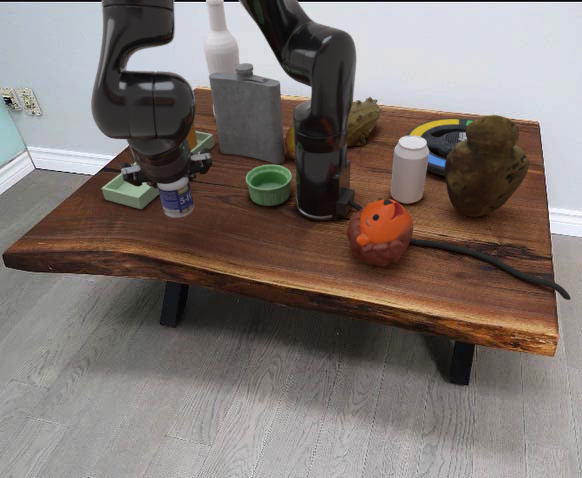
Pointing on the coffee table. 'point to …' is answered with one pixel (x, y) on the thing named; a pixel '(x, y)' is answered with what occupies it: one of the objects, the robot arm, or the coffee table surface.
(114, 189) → the tray
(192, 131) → the amber bottle
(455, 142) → the electronic game
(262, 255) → the coffee table surface
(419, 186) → the beverage can
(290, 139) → the fruit
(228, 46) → the bottle
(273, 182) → the ramekin
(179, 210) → the pill bottle
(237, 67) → the hip flask
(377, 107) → the seashell
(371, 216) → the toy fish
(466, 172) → the sculpture
